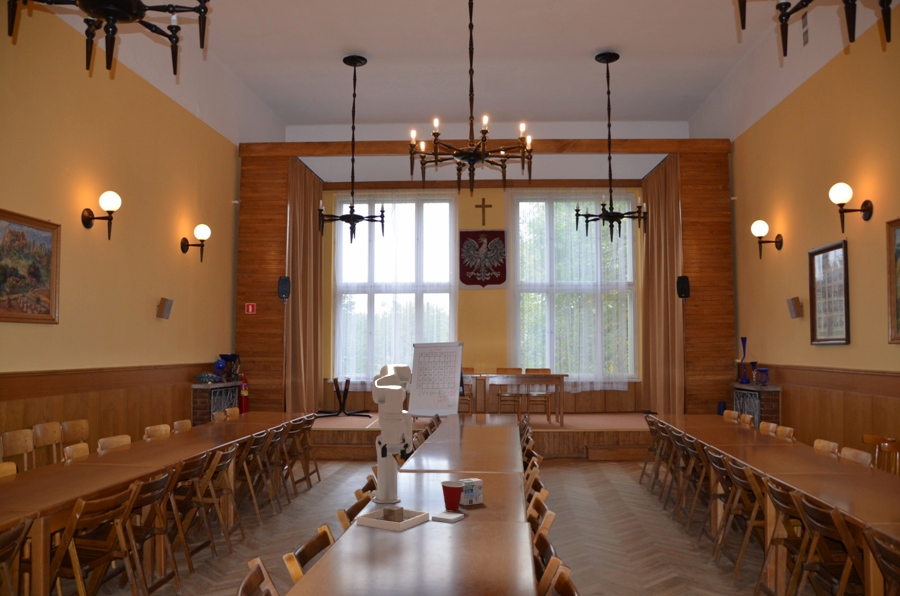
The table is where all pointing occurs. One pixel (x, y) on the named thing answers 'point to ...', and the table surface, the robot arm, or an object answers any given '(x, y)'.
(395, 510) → the walnut block
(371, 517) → the beige square frame
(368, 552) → the table surface
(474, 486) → the light bulb box
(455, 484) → the plastic cup
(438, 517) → the display stand
